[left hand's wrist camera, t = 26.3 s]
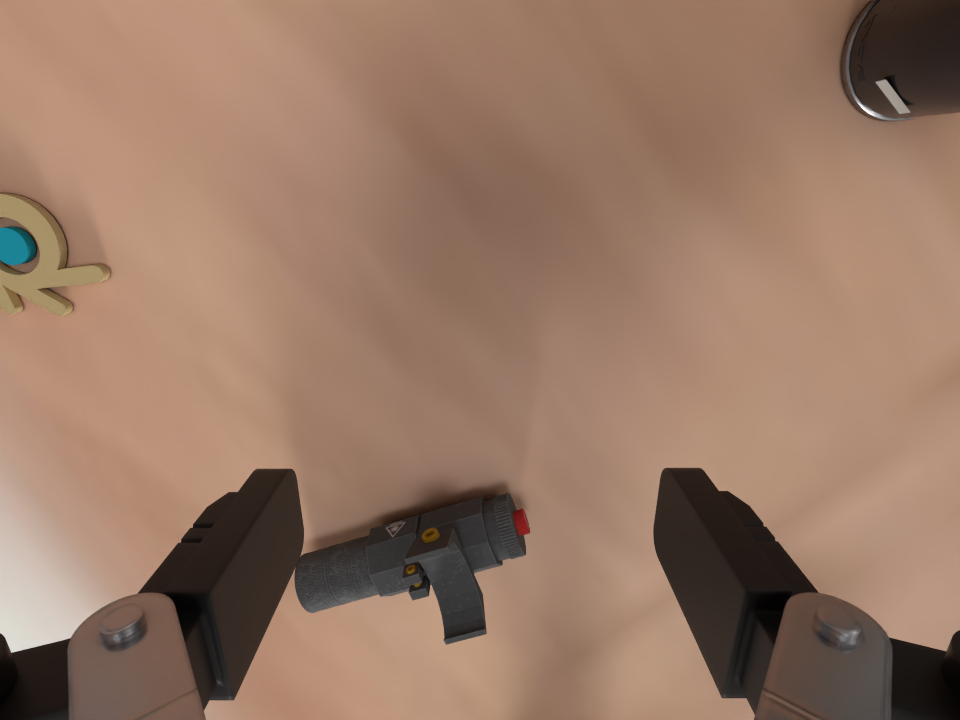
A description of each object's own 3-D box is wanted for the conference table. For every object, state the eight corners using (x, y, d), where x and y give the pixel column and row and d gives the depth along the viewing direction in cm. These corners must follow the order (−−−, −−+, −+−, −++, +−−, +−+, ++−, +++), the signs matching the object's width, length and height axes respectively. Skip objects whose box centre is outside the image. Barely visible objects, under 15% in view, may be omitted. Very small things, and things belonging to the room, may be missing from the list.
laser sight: (298, 523, 53) (259, 600, 44) (508, 461, 51) (515, 527, 41) (338, 594, 56) (310, 680, 47) (537, 539, 54) (550, 617, 44)
